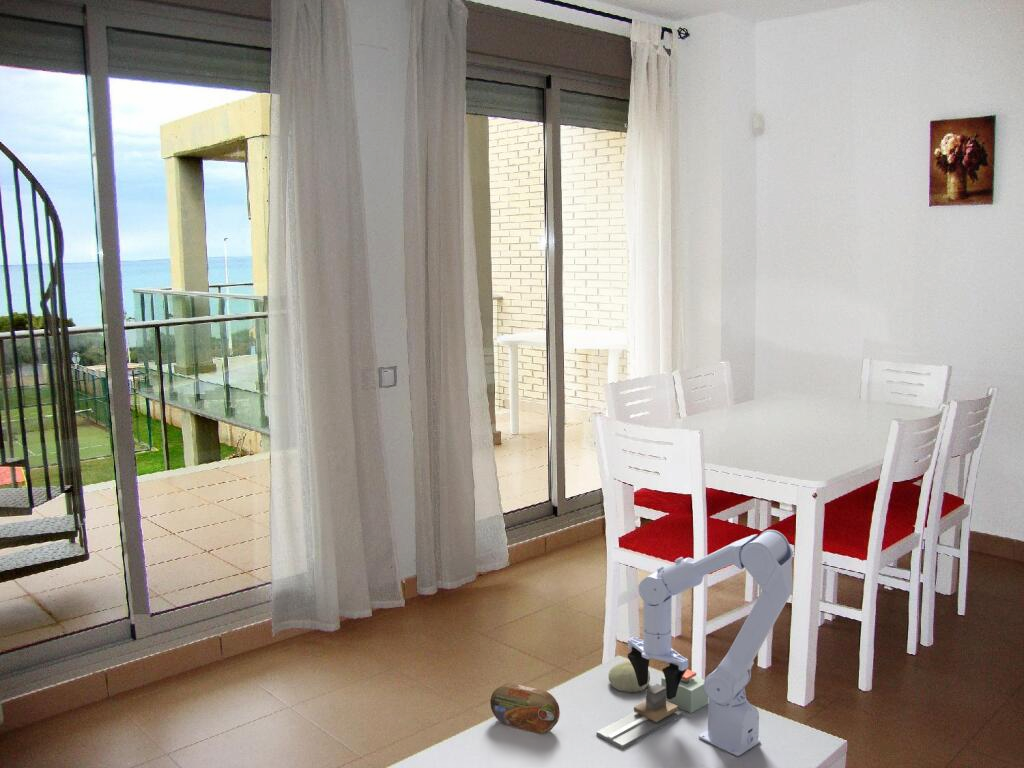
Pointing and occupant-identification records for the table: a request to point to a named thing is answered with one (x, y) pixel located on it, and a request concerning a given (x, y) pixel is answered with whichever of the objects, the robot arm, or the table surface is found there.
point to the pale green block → (689, 694)
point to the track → (633, 728)
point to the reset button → (687, 676)
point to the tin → (525, 708)
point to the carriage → (656, 704)
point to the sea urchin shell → (625, 678)
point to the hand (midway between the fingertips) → (656, 691)
